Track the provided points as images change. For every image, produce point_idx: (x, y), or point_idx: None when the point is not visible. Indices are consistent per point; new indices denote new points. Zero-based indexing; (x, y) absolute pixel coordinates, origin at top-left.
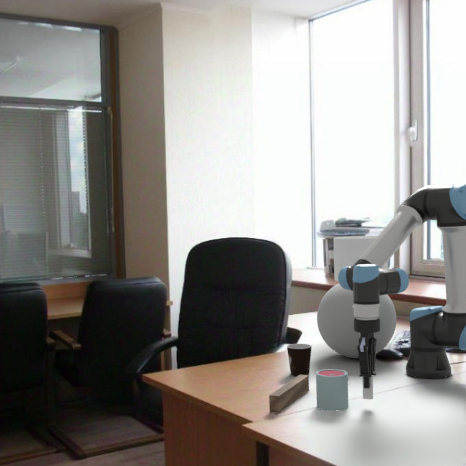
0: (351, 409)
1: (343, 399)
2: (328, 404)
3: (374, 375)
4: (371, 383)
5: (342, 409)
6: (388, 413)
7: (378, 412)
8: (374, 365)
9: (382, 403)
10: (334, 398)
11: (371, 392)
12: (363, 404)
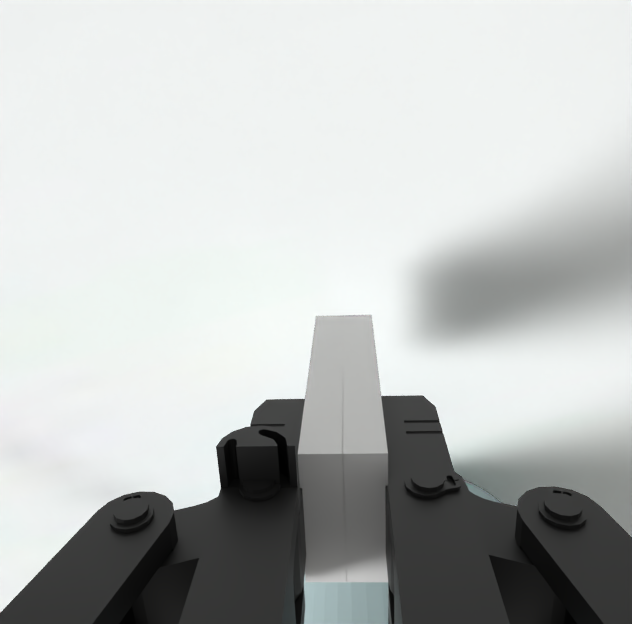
0: None
1: None
2: None
3: (277, 439)
4: (379, 403)
5: (483, 492)
6: (466, 96)
7: (461, 199)
8: (75, 580)
9: (156, 245)
10: None
11: (373, 350)
12: (259, 387)
